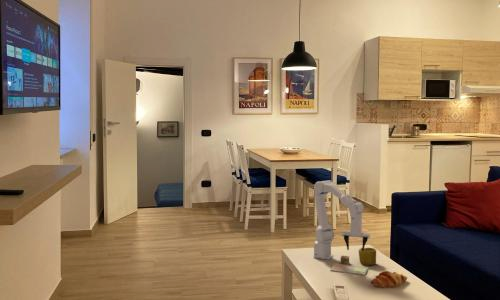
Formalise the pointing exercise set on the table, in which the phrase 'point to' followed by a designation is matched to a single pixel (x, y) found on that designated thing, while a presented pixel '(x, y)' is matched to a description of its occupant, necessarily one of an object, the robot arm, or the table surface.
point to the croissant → (388, 279)
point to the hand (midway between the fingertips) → (355, 250)
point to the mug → (367, 256)
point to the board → (349, 269)
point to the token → (344, 260)
